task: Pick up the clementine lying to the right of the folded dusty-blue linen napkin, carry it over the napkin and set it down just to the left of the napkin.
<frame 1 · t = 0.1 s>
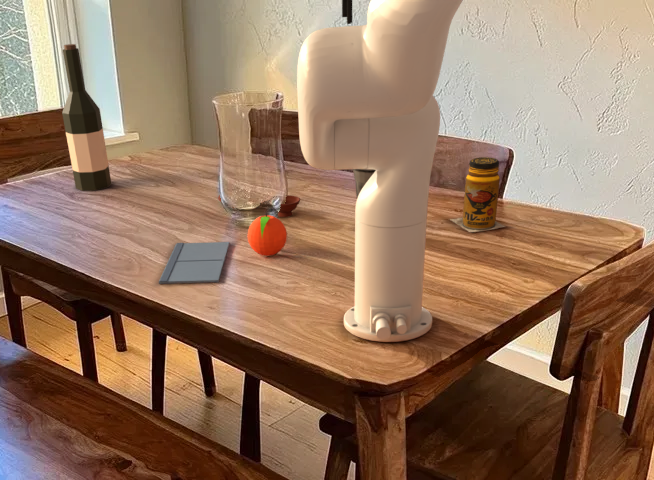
hand: (382, 21, 114), 37 cm above the table, tool pointing down, fingers open, 9 cm apart
condiment: (476, 225, 149), on the table
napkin: (196, 262, 138), on the table
clementine: (267, 256, 140), on the table
wine bottle: (93, 186, 185), on the table
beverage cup: (371, 230, 150), on the table
pottery: (260, 210, 163), on the table
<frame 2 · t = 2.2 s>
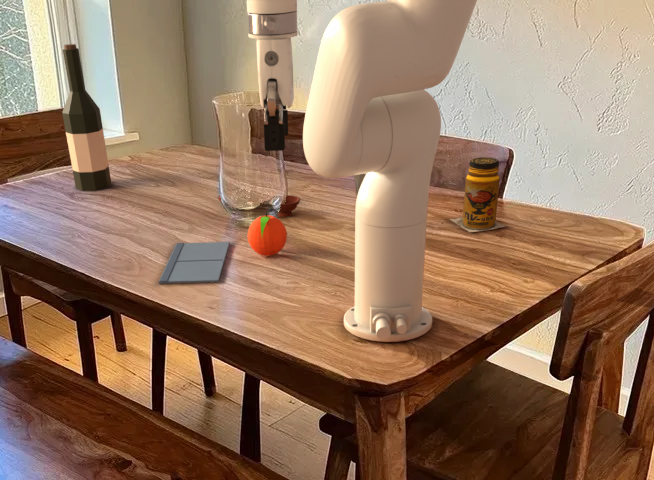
hand: (276, 142, 129), 19 cm above the table, tool pointing down, fingers open, 9 cm apart
nothing on the table moved.
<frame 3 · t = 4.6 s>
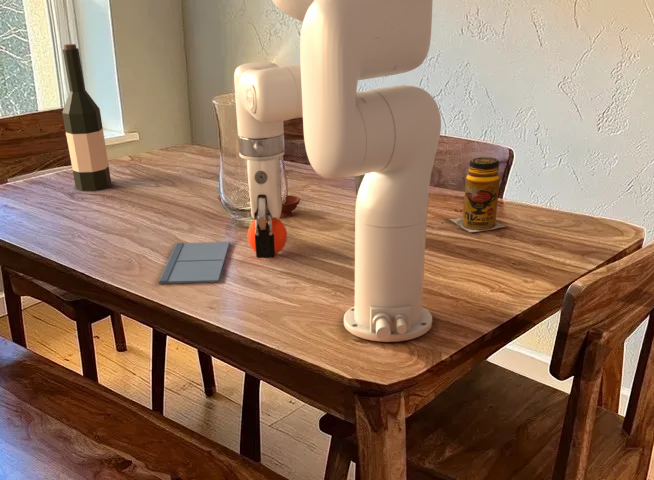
hand: (267, 248, 139), 1 cm above the table, tool pointing down, fingers closed on clementine, 8 cm apart
clementine: (267, 256, 140), on the table, touching gripper
everything else where it was.
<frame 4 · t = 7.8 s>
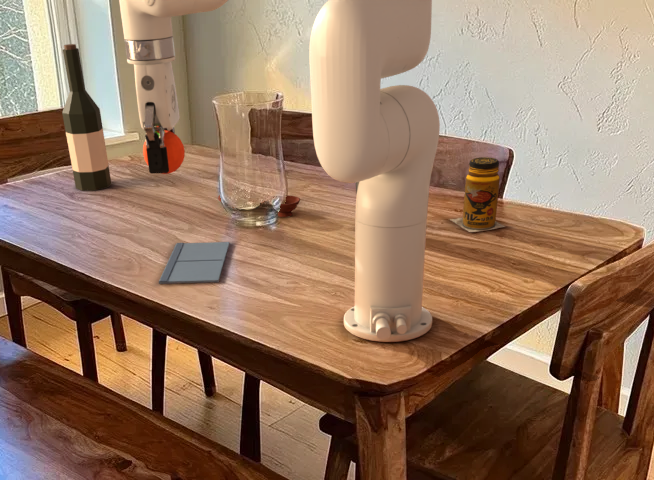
hand: (164, 165, 132), 16 cm above the table, tool pointing down, fingers closed on clementine, 8 cm apart
clementine: (165, 175, 133), point 15 cm above the table, touching gripper
everything else where it was.
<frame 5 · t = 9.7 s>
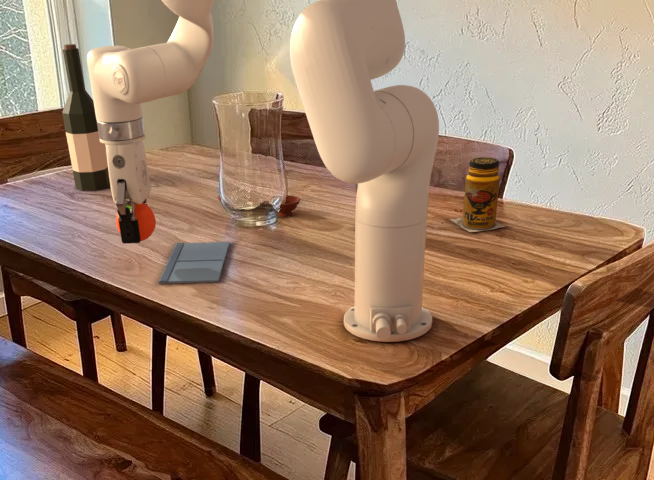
hand: (136, 234, 139), 5 cm above the table, tool pointing down, fingers closed on clementine, 8 cm apart
clementine: (137, 242, 139), point 3 cm above the table, touching gripper
everything else where it was.
when the fingers open (1 cm above the table, at t = 11.3 s): clementine stays where it is, on the table.
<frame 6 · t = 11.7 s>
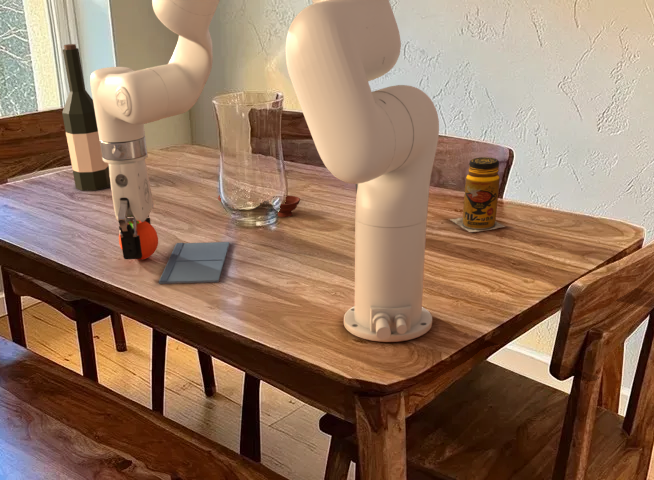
hand: (138, 249, 140), 2 cm above the table, tool pointing down, fingers open, 9 cm apart
clementine: (140, 260, 141), on the table
everything else where it was.
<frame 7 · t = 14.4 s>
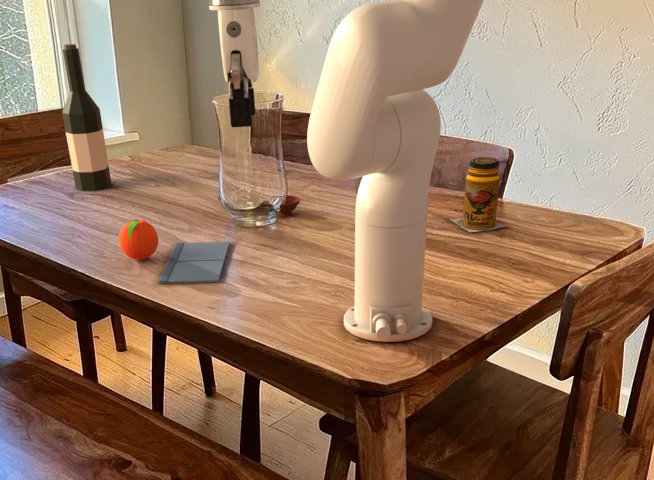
hand: (243, 120, 124), 23 cm above the table, tool pointing down, fingers open, 9 cm apart
nothing on the table moved.
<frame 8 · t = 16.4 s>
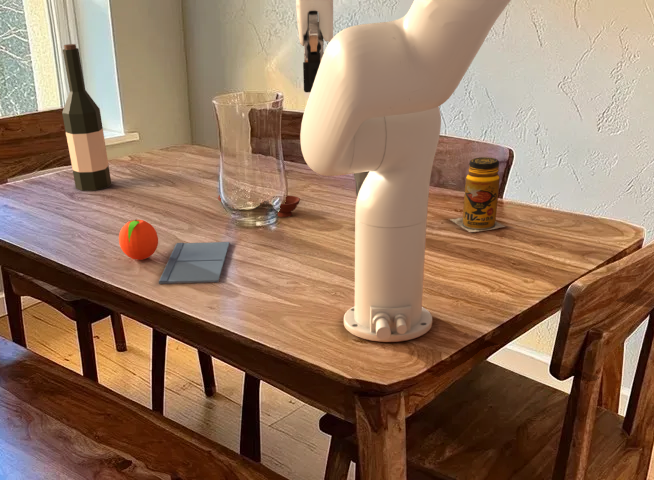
hand: (314, 86, 120), 28 cm above the table, tool pointing down, fingers open, 9 cm apart
nothing on the table moved.
at the end: clementine inside the target area on the table beside the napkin (3.2 cm from its centre), on the table; the gripper is holding nothing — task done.
